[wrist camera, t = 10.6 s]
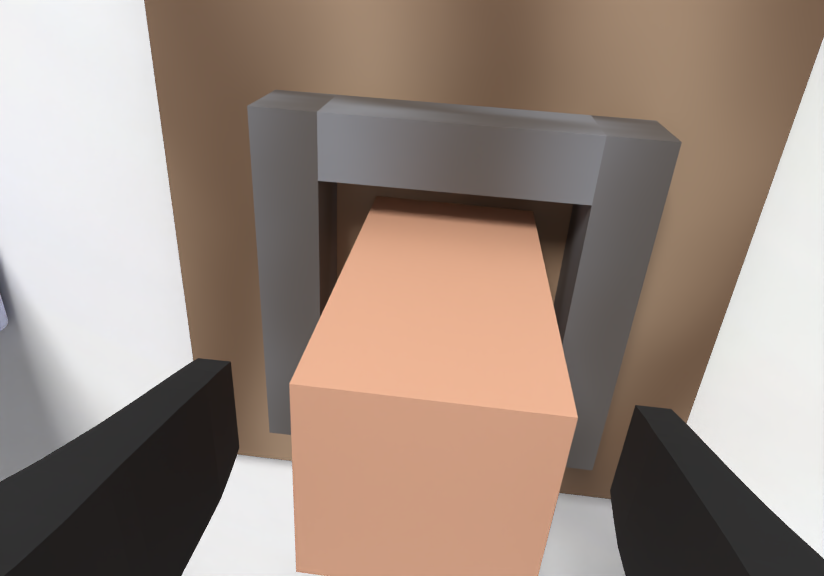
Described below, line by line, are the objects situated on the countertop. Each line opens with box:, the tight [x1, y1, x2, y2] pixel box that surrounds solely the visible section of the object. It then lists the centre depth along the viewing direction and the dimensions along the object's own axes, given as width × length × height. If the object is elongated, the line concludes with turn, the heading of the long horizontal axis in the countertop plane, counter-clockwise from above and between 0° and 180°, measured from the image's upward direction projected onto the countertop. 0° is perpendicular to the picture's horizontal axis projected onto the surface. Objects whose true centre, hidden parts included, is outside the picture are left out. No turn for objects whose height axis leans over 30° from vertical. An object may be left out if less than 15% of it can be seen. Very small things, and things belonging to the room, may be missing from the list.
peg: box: [289, 196, 578, 576], centre depth 13 cm, size 4×4×8 cm
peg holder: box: [144, 0, 824, 499], centre depth 16 cm, size 15×15×3 cm
